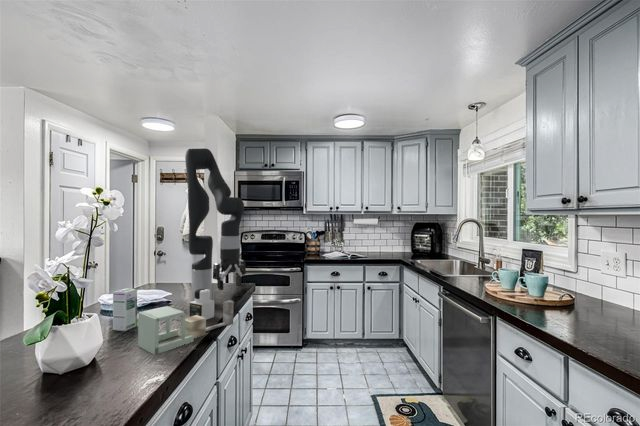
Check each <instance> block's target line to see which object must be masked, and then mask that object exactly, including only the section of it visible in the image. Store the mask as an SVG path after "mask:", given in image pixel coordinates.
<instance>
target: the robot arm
mask: <svg viewBox="0 0 640 426" xmlns="http://www.w3.org/2000/svg"><path fill="white" fill-rule="evenodd" d="M213 154H214V153H213V152H212V151H211V150H210V149H209V148H188V149H186V151H185V155H184V157H185V158H184V159H185V169H186V179H187V209H188V210H187V211H188V225H189V226H188V227H189V228H188V251H189V254H190V255H195V256H197V255H198V256H200V255H201V256H202V255H205V256H204V257H203V258H202V259H200V260H197V261H195V262H193V263H192V264H191V299H190V302H192V301H195V291H196V290H198V289H209V290H210V299H209V300H214V283H213V280H216V281H217V289H218V290H219V291H223V290H224V279H225V277H226V276H227V275H228V274H231V273H234V274H235V286H236V287H241V285H242V277H243V275H246V274H247V271H246V269H247V268H246V266H247V265H246V260H245V259H240V258H241V256H240V255H241V250H240V249H241V240H240V225H241V222H242V217H243V215H244V210H245V203H244V201H243V199H242V198H241V197H238V196H237V197H234V196H231V194H232V190H231V188H230V187H229V184H227V182H226V180H225V179H224V177H223V175H222V174H221V171H220V168H219V166H218V163H217V161H216V159H215V157H214V155H213ZM198 170H208V171H209V175H208V177H207V187H208V189H209V190H210V192H211V194H212V195H213V197H214V202H215V207H216V210H217V212H218V213H219V214H221V215H224V216H230V217H229V219H227V220H224V221H223V222H221V227H220V234H221V236H220V243H219V244H220V246H219V247H220V248H219V252H220V253H219V254H220V255H219V257H220V263H214V264H213V248H214V240H213V237H212V236H211V235H197V231H198V229H199V227H200V226H201V224H202V223H203V222H204V220H205V219H206V218H207V216H208V214H209V212H210V197H209V194H208V193H207V191H206V189H204V187H203V186H202V184H201V183H200V180H199V179H198V174H197V171H198Z"/></svg>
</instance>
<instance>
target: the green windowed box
mask: <svg viewBox="0 0 640 426" xmlns="http://www.w3.org/2000/svg"><path fill="white" fill-rule="evenodd" d="M177 317H180V338H179V339H175V340H172V341H168V342H165V343H163V344H160V343H159V342H161V341H163V340H167V339H170V338H174V337H176V336H179V329H178V328H175V329H171V328H170V327H171V326H170V325H171V319H173V318H177ZM185 318H186V313H185V311H183V310H180V309H177V308H174V307H171V306H169V305H166V306H162V307H157V308H153V309H147V310H143V311H139V312H138V319H137V326H138V327H137V328H138V329H137V330H138V331H137V335H138V337H137V347H139V348H141V349H143V350H145V351H146V352H149V353H151V354H152V355H154V356H155V355H159V354H161V353H165V352H167V351H171V350H173V349H177V348H178V347H179V346H180V347H183V346H185V345H189V344H191V343H193V342H194V339H193V337H194V336H192V335H190V336H187V337H185ZM163 321H165V332H161V333H160V332H159V330H160V322H163ZM190 342H191V343H190ZM184 344H185V345H184ZM182 345H183V346H182ZM176 347H177V348H176Z"/></svg>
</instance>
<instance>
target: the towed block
mask: <svg viewBox="0 0 640 426" xmlns="http://www.w3.org/2000/svg"><path fill="white" fill-rule="evenodd" d="M231 325H234V301H232V300H229V299H228V300H226V301H223V303H222V322H220V323H218V324H214V325H210V326H207V320H206V318H204V317H201V316H198V315H195V316H191V317H190V316H188V317H185V337H187V336H190V335H192V336H194V337H193V340H194V338H195V339H197V337H198V338H199V337H200V338H201V337H203V336H206V335H207V331H211V330H215V329H218V328H221V327H223V326H225V327H226V326H227V327H228V326H231Z"/></svg>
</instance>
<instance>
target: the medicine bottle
mask: <svg viewBox="0 0 640 426" xmlns="http://www.w3.org/2000/svg"><path fill="white" fill-rule="evenodd" d="M209 299H210V290H209V289H198V290H196V291H195V301H192V302H191V301H190V302H189V317H191V316H195V315H198V316H201V317H204V318H206V321H208V320H209V319H212V318H214V317H215V300H214V299H213V300H209Z"/></svg>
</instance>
